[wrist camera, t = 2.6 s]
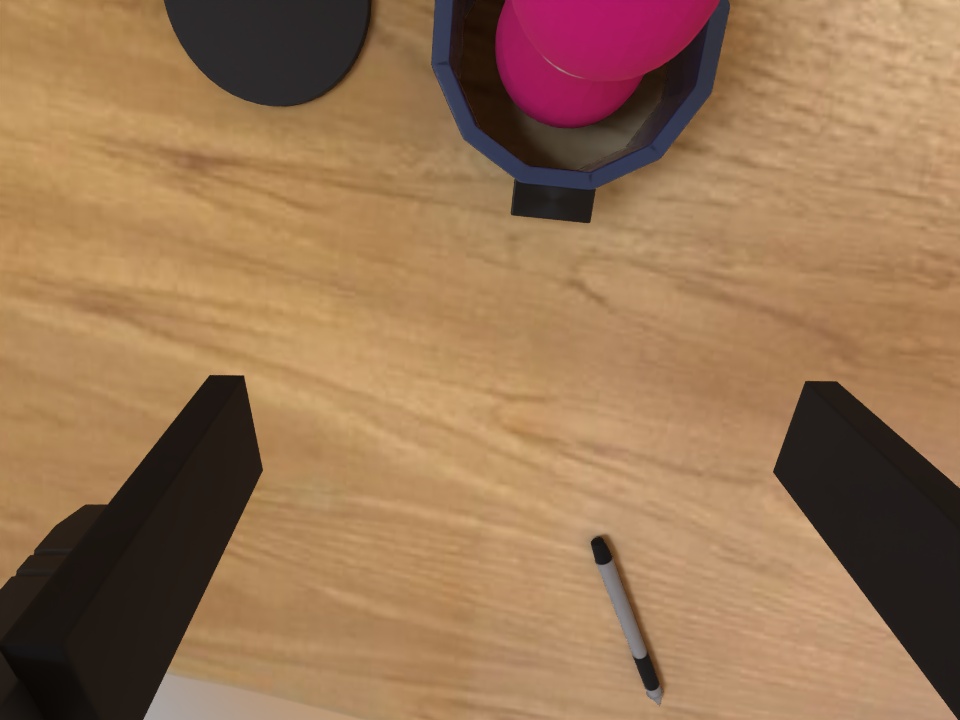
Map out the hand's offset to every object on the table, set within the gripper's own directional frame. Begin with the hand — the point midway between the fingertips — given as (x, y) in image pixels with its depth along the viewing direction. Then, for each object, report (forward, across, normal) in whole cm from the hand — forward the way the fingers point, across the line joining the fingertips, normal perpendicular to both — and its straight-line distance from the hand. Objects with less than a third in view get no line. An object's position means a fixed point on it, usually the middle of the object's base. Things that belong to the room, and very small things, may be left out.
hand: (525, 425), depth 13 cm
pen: (+17, +11, -29) cm, 36 cm away
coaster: (+25, -12, +10) cm, 29 cm away
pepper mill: (+23, +4, +8) cm, 25 cm away
